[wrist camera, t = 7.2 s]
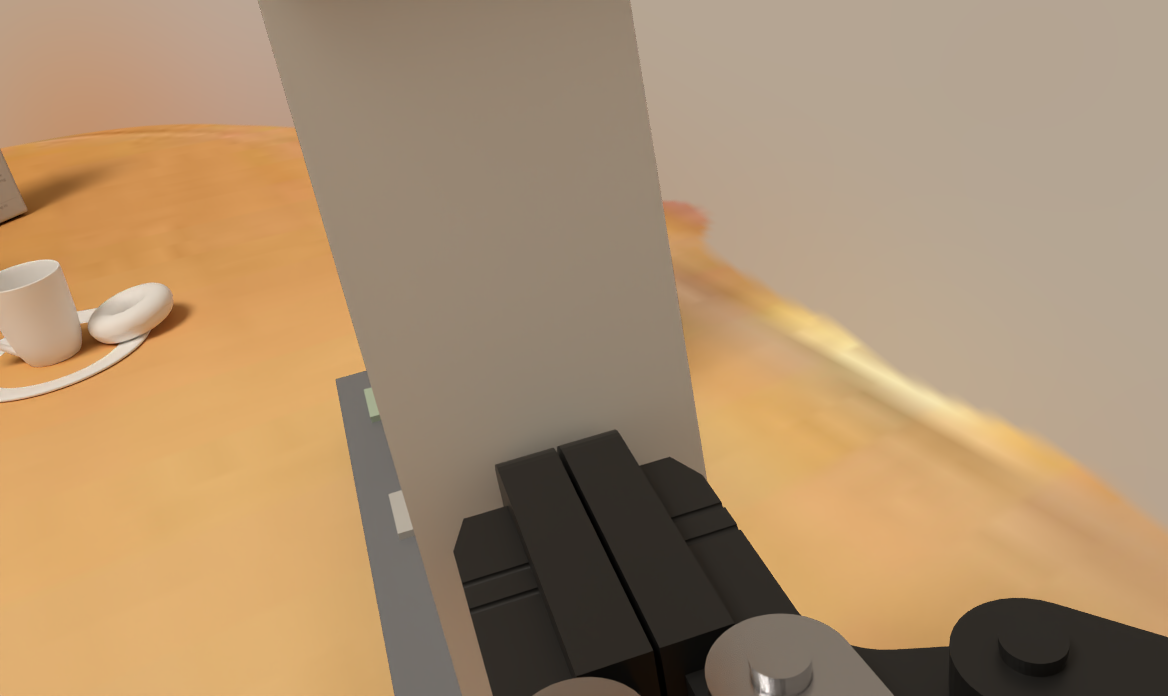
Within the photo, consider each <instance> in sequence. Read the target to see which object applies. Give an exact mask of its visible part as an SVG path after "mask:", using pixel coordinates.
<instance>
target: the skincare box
mask: <svg viewBox="0 0 1168 696" xmlns="http://www.w3.org/2000/svg"><path fill="white" fill-rule="evenodd" d="M25 212H27V207H26V205H25V203H24V201H23V198H22V196H21V194H20V192H19V190H18V187H17V185H16V183H15V181H14V179H13V176H12V174H11V172H10V170H9V167H8V165H7V163H6V161H5V159H4V156H3V154H2V152H1V150H0V223H1V222H3V221H6V220H8V219H11V218H13V217H15V216H18V215H20V214H23V213H25Z"/></svg>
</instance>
